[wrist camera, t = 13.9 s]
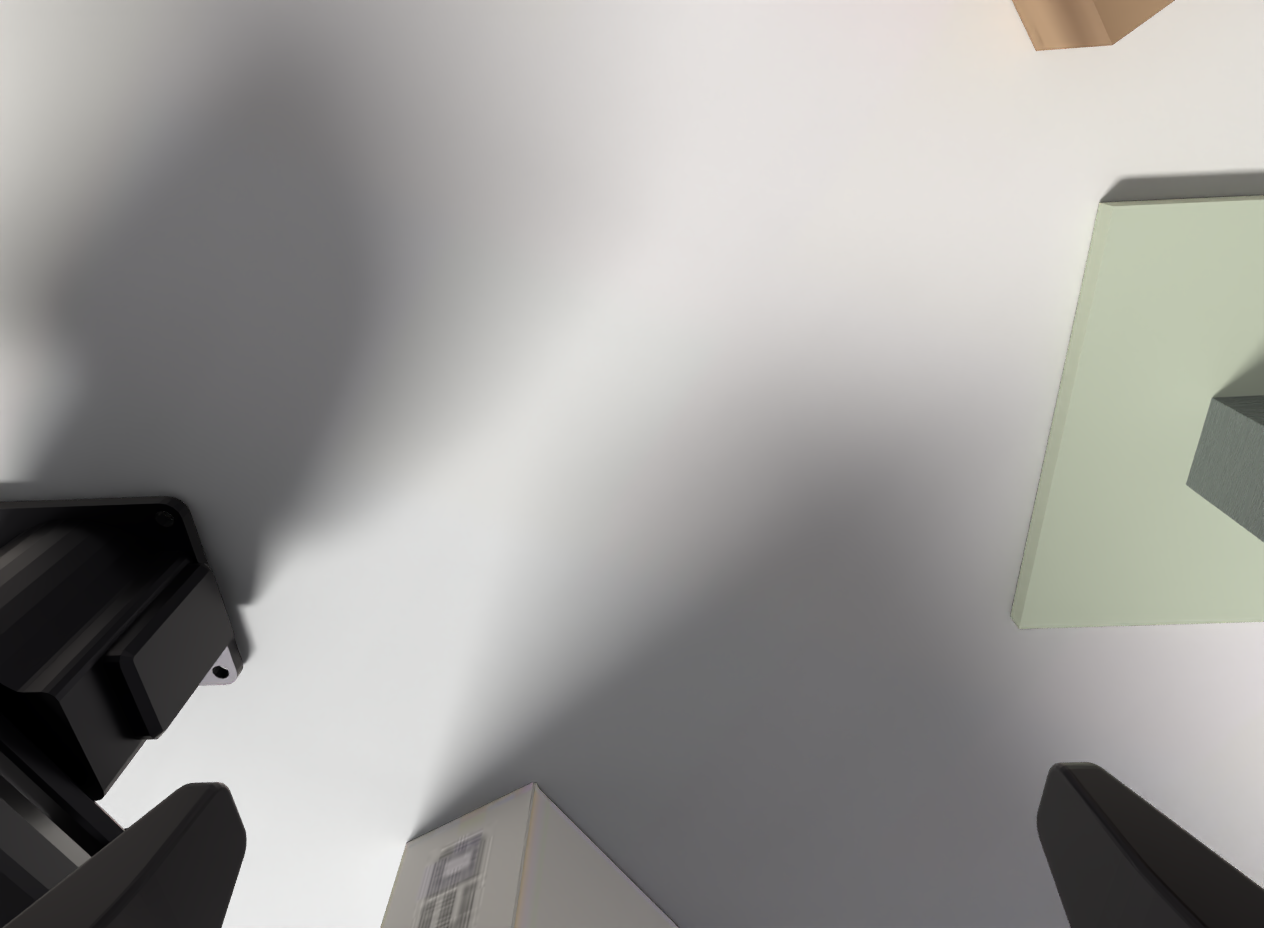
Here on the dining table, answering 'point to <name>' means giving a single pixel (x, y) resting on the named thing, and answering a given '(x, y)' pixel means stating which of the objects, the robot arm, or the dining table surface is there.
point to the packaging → (514, 874)
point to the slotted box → (1083, 21)
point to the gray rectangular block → (1233, 460)
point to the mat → (1149, 424)
